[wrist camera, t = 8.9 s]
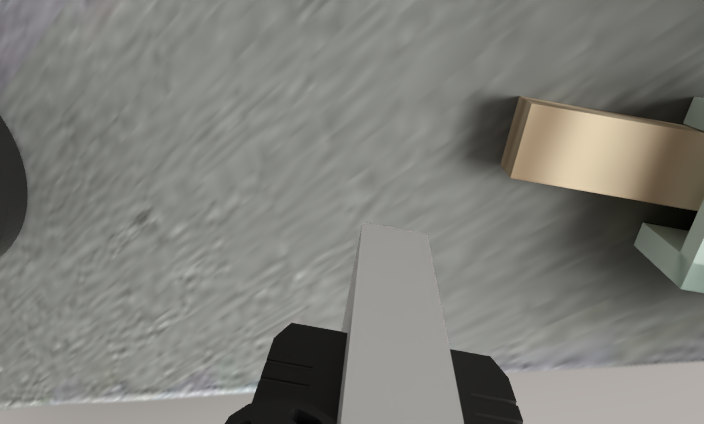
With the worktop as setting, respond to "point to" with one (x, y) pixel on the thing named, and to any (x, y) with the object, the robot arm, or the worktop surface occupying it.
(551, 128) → the slat
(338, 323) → the worktop surface
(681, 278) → the end cap
